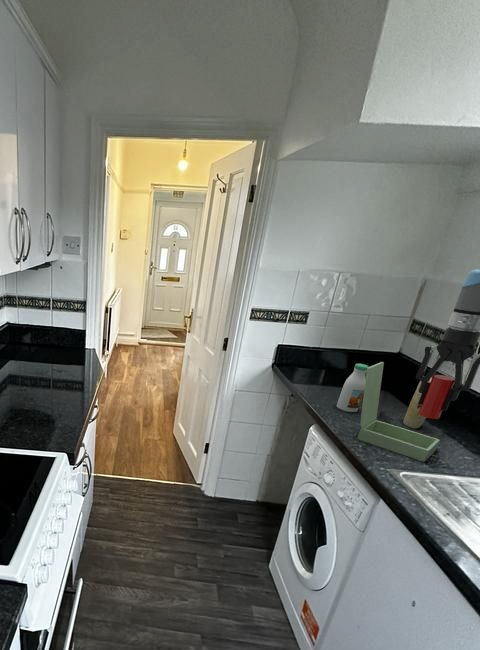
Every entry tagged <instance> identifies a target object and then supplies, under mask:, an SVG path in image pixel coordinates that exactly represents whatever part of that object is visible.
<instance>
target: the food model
mask: <svg viewBox="0 0 480 650" xmlns="http://www.w3.org/2000/svg"><path fill="white" fill-rule="evenodd" d="M431 379H432V378H431ZM431 379H430V380H429V381H428V382H429V383H430V382H431ZM420 385H421V381H420V380H419V383H418V384H417V387H416V390H415V392H414V393H413V395H412V398H411V400H410V402H409V405H408V408H407V410H406V413H405V416H404V419H403V424H404V426H406V427H408V428H410V429H414V430H417V429H419V428H421V427H422V425H423V424H424V422H425V421H426V419H428V418H427V417H424V416H421V415H419V414H418V412H419V410H420V407H421V405H422V404H421V405H419V404H418V402H419V400H420V397H421V394H422V393H419V388H420Z"/></svg>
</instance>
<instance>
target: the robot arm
mask: <svg viewBox="0 0 480 650" xmlns="http://www.w3.org/2000/svg"><path fill="white" fill-rule="evenodd" d="M448 320H449V321H448V323H447V326H448V327H447V328H446V329H445V331H444V334H443V336H442V338H441V341H440V342H439V343H438V344H437V345H427V346H425V347H424V356H423V359H422V361H421V363H420V366H419V368H418V371H417V373H416V375H415V379H416V380H419V382H420V381H421V385H420V388H419V393H422V394H421V397H420V400H419V402H418V404H419V405H421V404H422V402H423V400H424V397H425V395H426V392H427V390H428V387H429V384H430V383H429V382H428V381H429V380H430V379H431V378H432V377H433V375H436V373H437V371H438V370H440V367H442V365H443V364H444V363H445V362H451V363H452V364H454V366H455V369H454V371H455V372H454V379H455V382H454V385H453V387H452V389H451V390H450V392H449V394H448V396H447V399H446V401H445V404H444V406H443V408H442V412H446V411H447V410H448V408H449V406H450V404H451V402H455V401H456V400H457V399H458V397H459V395H460V392H461V391H469V390H470V389H471V388H472V385H473V383H474V380H475V377H476V375H477V373H478V370H479V368H480V354H479V353H477V352H476V346H477V344H478V341H479V339H480V269H472V270H470V271H469V273H468V274H467V275H466V279H465V281H464V282H463V285H462V286H461V289H460V292H459V295H458V297H457V301H456V303H455V306H454V308H453V311H452V313H451V315H450V318H449V319H448ZM436 351H437V352H438V356H439V358H438V359H437V361H436V362H435V363H434V365H433V366H432V367H431V368H430V370H429V371H428V372H427V373H426V370H427V369H428V365H429V363H430V360H431V358H432V355H433V354H434V353H436ZM471 357H472V362H473V363H472V365H471V367H470V370H469V372H468V375H467V377H466V380H465V381H464V385H463V376H464V375H463V374H464V365H465V361H466V360H468V359H469V358H471ZM425 373H426V375H425ZM424 375H425V376H424Z"/></svg>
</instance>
